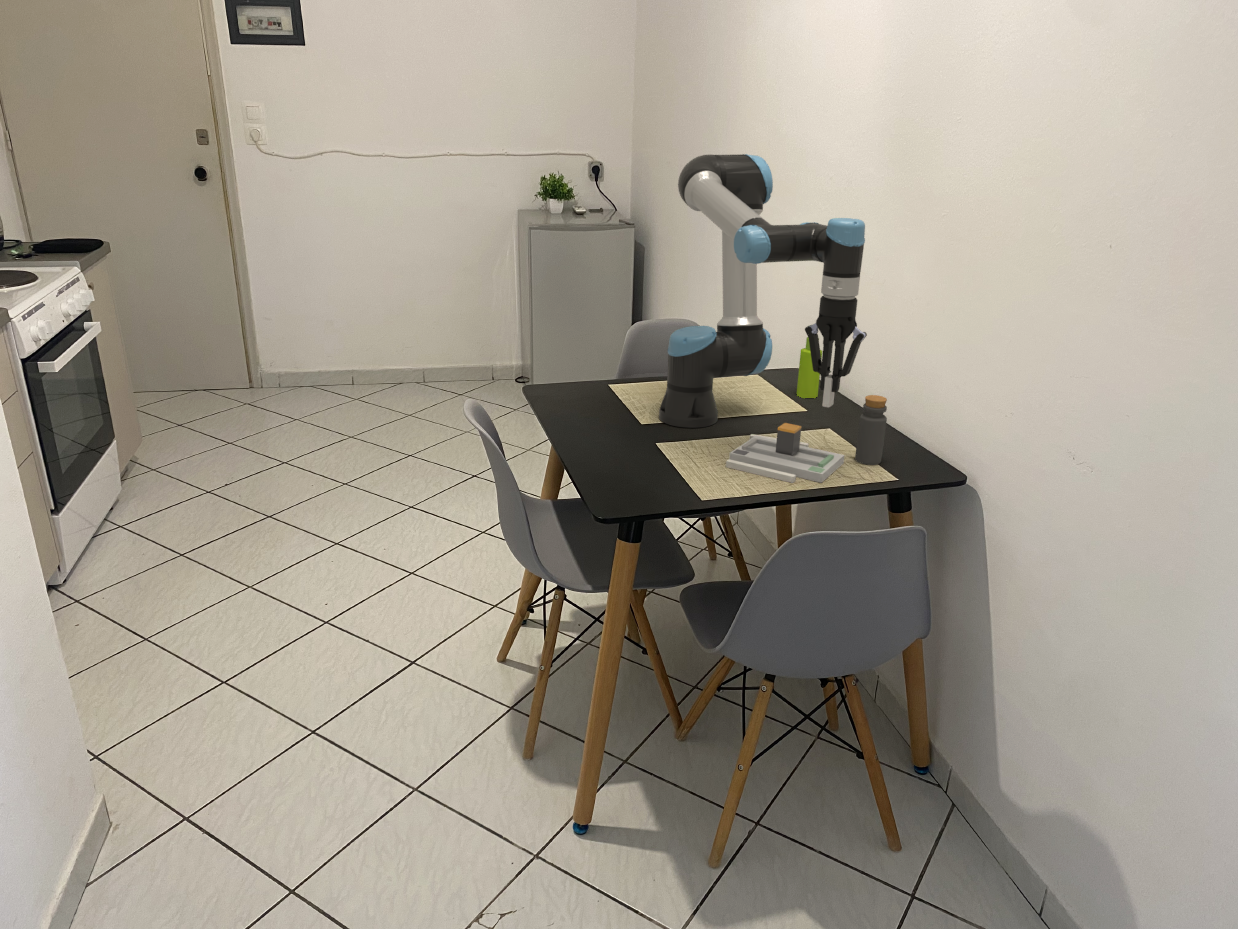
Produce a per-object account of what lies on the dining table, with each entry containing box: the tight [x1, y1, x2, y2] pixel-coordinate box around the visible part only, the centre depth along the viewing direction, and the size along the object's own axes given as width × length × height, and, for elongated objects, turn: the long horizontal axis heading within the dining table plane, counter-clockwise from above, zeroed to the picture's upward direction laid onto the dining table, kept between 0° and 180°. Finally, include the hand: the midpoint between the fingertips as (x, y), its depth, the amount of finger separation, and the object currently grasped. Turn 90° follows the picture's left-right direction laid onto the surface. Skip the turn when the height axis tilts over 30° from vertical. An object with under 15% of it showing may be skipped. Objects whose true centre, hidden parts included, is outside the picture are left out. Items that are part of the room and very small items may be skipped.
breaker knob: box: [776, 422, 802, 456], centre depth 199 cm, size 4×4×6 cm
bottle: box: [854, 394, 888, 466], centre depth 200 cm, size 6×6×15 cm
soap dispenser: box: [796, 324, 823, 399], centre depth 245 cm, size 6×7×20 cm
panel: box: [728, 436, 845, 483], centre depth 200 cm, size 22×14×3 cm, turn 57°
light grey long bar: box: [725, 458, 797, 484], centre depth 194 cm, size 16×1×1 cm, turn 57°
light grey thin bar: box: [748, 433, 809, 447], centre depth 211 cm, size 14×1×1 cm, turn 65°
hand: (827, 405), depth 191 cm, fingers closed
